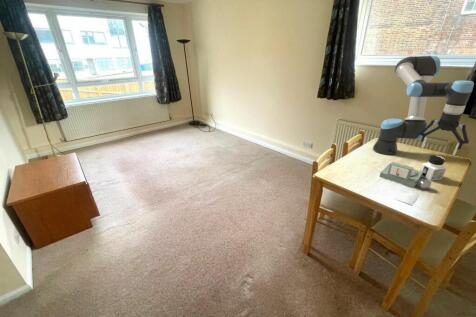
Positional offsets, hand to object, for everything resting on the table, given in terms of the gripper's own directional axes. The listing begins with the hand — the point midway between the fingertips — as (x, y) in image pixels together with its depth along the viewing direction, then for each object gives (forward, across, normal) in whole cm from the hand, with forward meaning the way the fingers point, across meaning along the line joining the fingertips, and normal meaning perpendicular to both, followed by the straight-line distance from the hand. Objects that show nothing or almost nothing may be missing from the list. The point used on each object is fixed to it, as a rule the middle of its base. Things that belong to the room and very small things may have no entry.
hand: (437, 150), depth 123 cm
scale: (+17, -11, -10) cm, 23 cm away
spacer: (+17, +1, -14) cm, 23 cm away
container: (+17, +1, +2) cm, 17 cm away
